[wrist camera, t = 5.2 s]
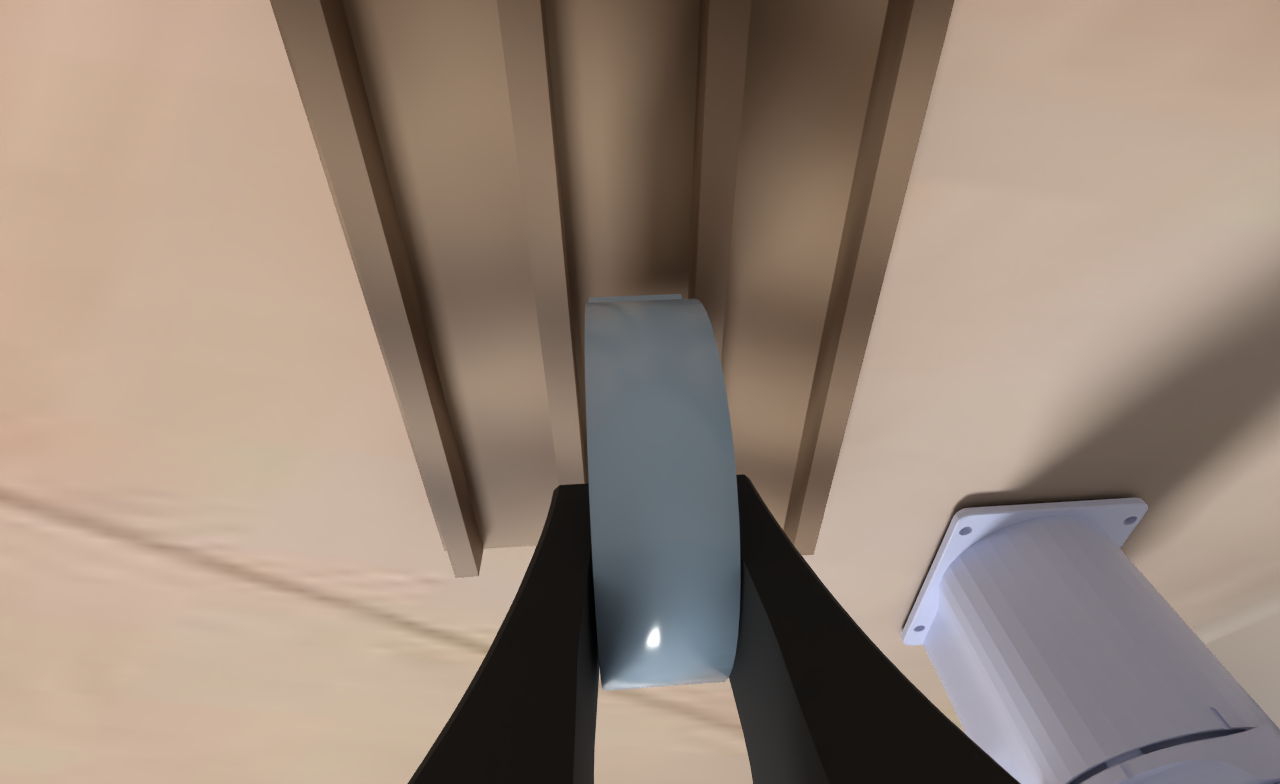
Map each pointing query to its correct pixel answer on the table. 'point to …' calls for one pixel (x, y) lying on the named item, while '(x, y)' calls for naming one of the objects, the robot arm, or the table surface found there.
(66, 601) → the table surface
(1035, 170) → the table surface
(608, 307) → the blue-grey thick rounded disc
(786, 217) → the rack
